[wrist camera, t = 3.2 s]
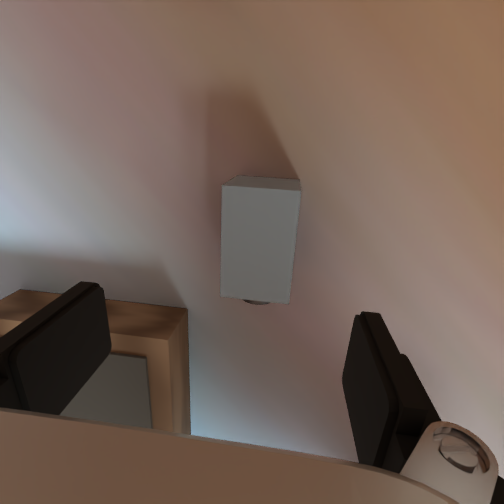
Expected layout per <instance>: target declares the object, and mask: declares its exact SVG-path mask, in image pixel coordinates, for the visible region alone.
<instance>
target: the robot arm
mask: <svg viewBox="0 0 504 504" xmlns="http://www.w3.org/2000/svg"><path fill="white" fill-rule="evenodd" d="M111 348H112V343H111V337H110V330H109V323H108V316H107V309H106V303H105V296H104V290H103V288H101V287H100V286H99V284H98V283H92V282H79V283H78V284H76V285H75V286H74V287H72V288H71V289H69V290H68V291H66V292H65V293H63V294H62V295H61V296H59V297H58V298H56V299H55V300H53V301H52V302H51V303H49V304H48V305H46V306H45V307H43V308H42V309H41V310H39V311H38V312H36V313H35V314H33V315H32V316H30V317H29V318H28V319H26V320H25V321H23V322H22V323H20V324H19V325H18V326H16V327H15V328H13V329H12V330H10V331H9V332H8V333H6V334H5V335H3V336H2V337H0V504H504V479H503V478H501V477H500V476H498V463H497V460H496V458H495V456H494V454H493V453H492V451H491V450H490V449H489V447H488V446H487V445H486V444H485V443H484V442H483V441H482V440H481V439H480V438H479V437H477V436H476V435H474V434H473V433H472V432H470V431H469V430H467V429H465V428H463V427H461V426H459V425H457V424H453V423H450V422H443V421H441V419H440V417H439V415H438V413H437V412H436V410H435V408H434V406H433V404H432V402H431V400H430V398H429V396H428V395H427V393H426V391H425V389H424V387H423V385H422V383H421V381H420V380H419V378H418V376H417V374H416V372H415V370H414V368H413V366H412V364H411V363H410V361H409V359H408V357H407V356H406V355H404V354H400V352H399V350H398V348H397V346H396V344H395V342H394V340H393V338H392V336H391V334H390V333H389V331H388V329H387V327H386V325H385V323H384V321H383V319H382V317H381V315H380V313H374V312H364V311H362V312H361V314H360V315H355V318H354V323H353V327H352V332H351V337H350V342H349V346H348V351H347V356H346V361H345V366H344V370H343V376H342V384H343V389H344V394H345V399H346V403H347V408H348V413H349V418H350V422H351V427H352V432H353V437H354V441H355V446H356V451H357V455H358V460H359V463H356V462H351V461H346V460H342V459H336V458H330V457H325V456H319V455H313V454H307V453H302V452H296V451H290V450H284V449H278V448H271V447H265V446H259V445H252V444H246V443H239V442H233V441H227V440H220V439H214V438H208V437H201V436H195V435H188V434H181V433H175V432H168V431H162V430H155V429H148V428H142V427H135V426H128V425H121V424H115V423H108V422H101V421H94V420H87V419H80V418H74V417H67V416H60V414H61V412H62V411H63V410H64V409H65V408H66V406H67V405H68V404H69V403H70V402H71V400H72V399H73V398H74V397H75V395H76V394H77V393H78V392H79V391H80V389H81V388H82V387H83V386H84V385H85V383H86V382H87V381H88V380H89V379H90V377H91V376H92V375H93V374H94V372H95V371H96V370H97V369H98V368H99V366H100V365H101V364H102V363H103V362H104V360H105V359H106V358H107V357H108V355H109V354H110V352H111Z"/></svg>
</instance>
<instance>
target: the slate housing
mask: <svg viewBox="0 0 504 504" xmlns="http://www.w3.org/2000/svg"><path fill="white" fill-rule="evenodd" d="M300 200H301V186H300V180H298V179H284V178H269V177H255V176H241V175H237V176H236V177H234V178H233V179H231V180H230V181H228V182H226V183H225V184H223V185H222V210H221V266H220V297H228V298H237V299H242V300H244V301H245V302H248V303H251V304H257V305H263V304H268V303H271V302H272V303H281V304H289V299H290V290H291V281H292V272H293V263H294V254H295V245H296V236H297V227H298V218H299V209H300Z"/></svg>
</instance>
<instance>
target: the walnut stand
mask: <svg viewBox="0 0 504 504" xmlns="http://www.w3.org/2000/svg"><path fill="white" fill-rule="evenodd" d="M61 295H62V294H56V293H47V292H39V291H30V290H21V289H20V290H18V291H16V292H14V293H13V294H11V295H9V296H7V297H5V298H3V299H2V300H0V337H2V336H3V335H5V334H6V333H8V332H9V331H10V330H12V329H13V328H15V327H16V326H18V325H19V324H20V323H22V322H23V321H25V320H26V319H28V318H29V317H30V316H32V315H33V314H35V313H36V312H38V311H39V310H41V309H42V308H43V307H45V306H46V305H48V304H49V303H51V302H52V301H53V300H55V299H56V298H58V297H59V296H61ZM105 303H106V309H107V316H108V323H109V330H110V337H111V343H112V348H111V352H110V354H109V355H108V357H107V358H106V359H105V360H104V362H103V363H102V364H101V365H100V366H99V368H98V369H97V370H96V371H95V372H94V374H93V375H92V376H91V377H90V379H89V380H88V381H87V382H86V383H85V385H84V386H83V387H82V388H81V389H80V391H79V392H78V393H77V394H76V395H75V397H74V398H73V399H72V400H71V402H70V403H69V404H68V405H67V406H66V408H65V409H64V410H63V411H62V412H61V414H60V416H67V417H74V418H80V419H87V420H94V421H101V422H108V423H115V424H121V425H128V426H135V427H142V428H148V429H155V430H162V431H168V432H175V433H181V434H188V435H191V422H190V382H189V343H188V309H185V308H177V307H168V306H159V305H151V304H142V303H133V302H125V301H116V300H108V299H105Z"/></svg>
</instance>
